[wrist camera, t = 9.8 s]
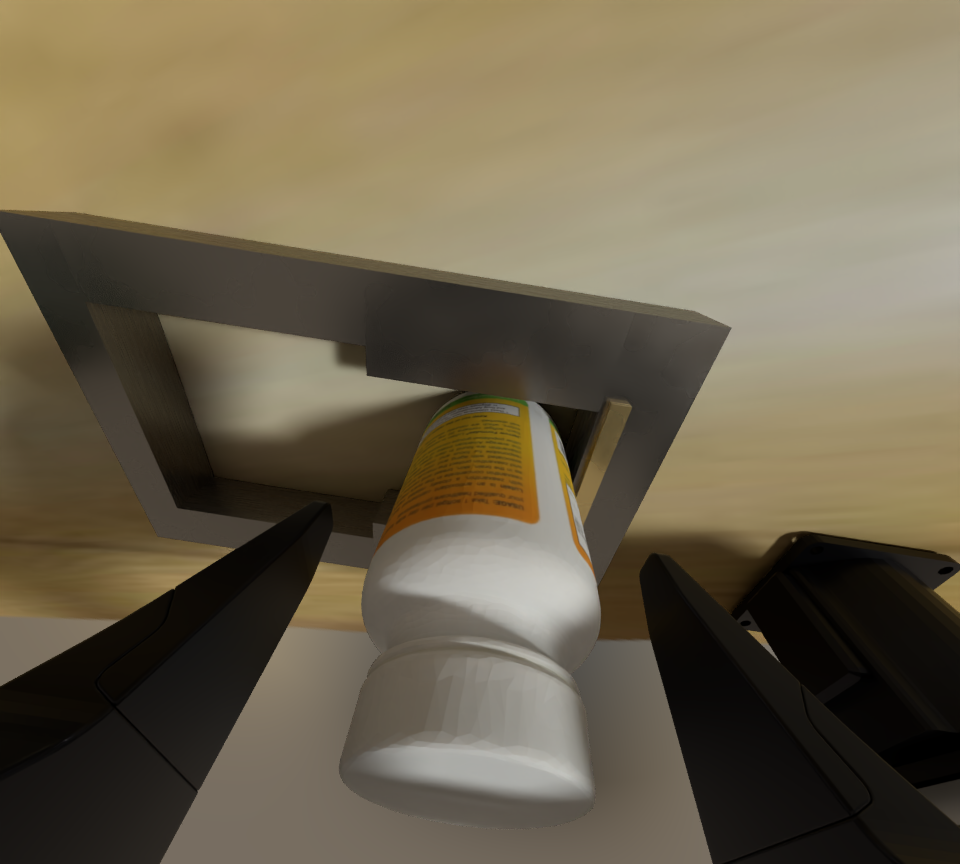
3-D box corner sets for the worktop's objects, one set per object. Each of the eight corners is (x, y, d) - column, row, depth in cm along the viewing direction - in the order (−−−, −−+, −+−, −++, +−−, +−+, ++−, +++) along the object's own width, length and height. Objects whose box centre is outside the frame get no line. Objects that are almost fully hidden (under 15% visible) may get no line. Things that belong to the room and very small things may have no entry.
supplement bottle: (400, 453, 14) (241, 782, 6) (478, 354, 12) (399, 676, 3) (502, 516, 15) (492, 854, 7) (591, 440, 13) (733, 816, 5)
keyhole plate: (695, 311, 10) (735, 329, 8) (581, 564, 17) (590, 607, 15) (75, 212, 10) (-23, 208, 8) (194, 504, 16) (153, 540, 15)
